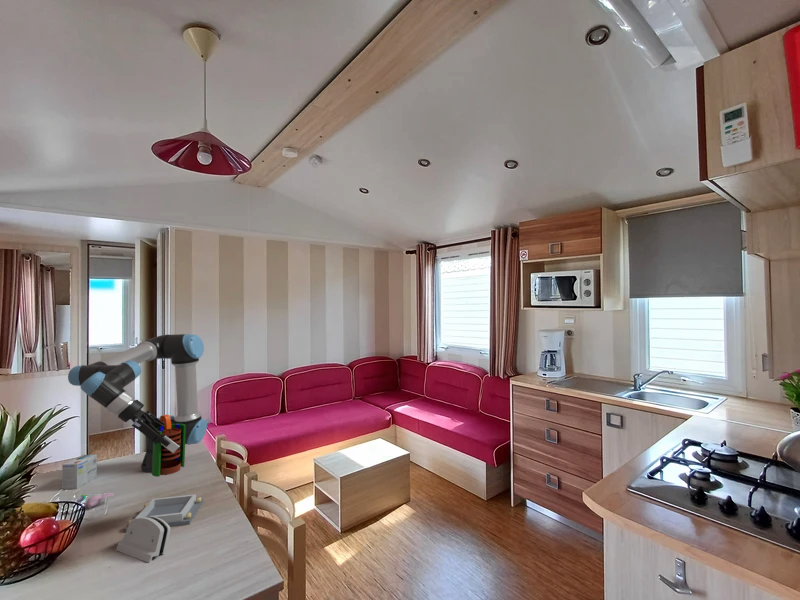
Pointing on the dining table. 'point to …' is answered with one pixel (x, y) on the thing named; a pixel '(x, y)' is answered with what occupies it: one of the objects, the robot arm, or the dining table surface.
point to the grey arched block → (145, 538)
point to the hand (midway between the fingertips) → (178, 446)
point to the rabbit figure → (94, 499)
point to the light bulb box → (79, 471)
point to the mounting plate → (172, 509)
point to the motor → (163, 457)
